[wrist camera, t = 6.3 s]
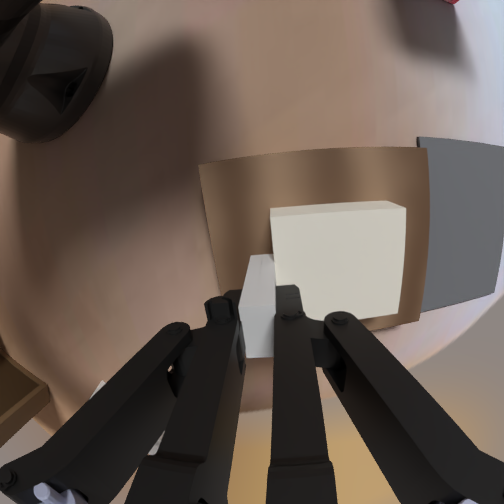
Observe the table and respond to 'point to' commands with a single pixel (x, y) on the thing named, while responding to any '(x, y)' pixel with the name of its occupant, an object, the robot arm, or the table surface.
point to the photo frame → (18, 396)
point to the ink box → (452, 1)
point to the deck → (312, 193)
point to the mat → (463, 220)
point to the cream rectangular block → (341, 256)
